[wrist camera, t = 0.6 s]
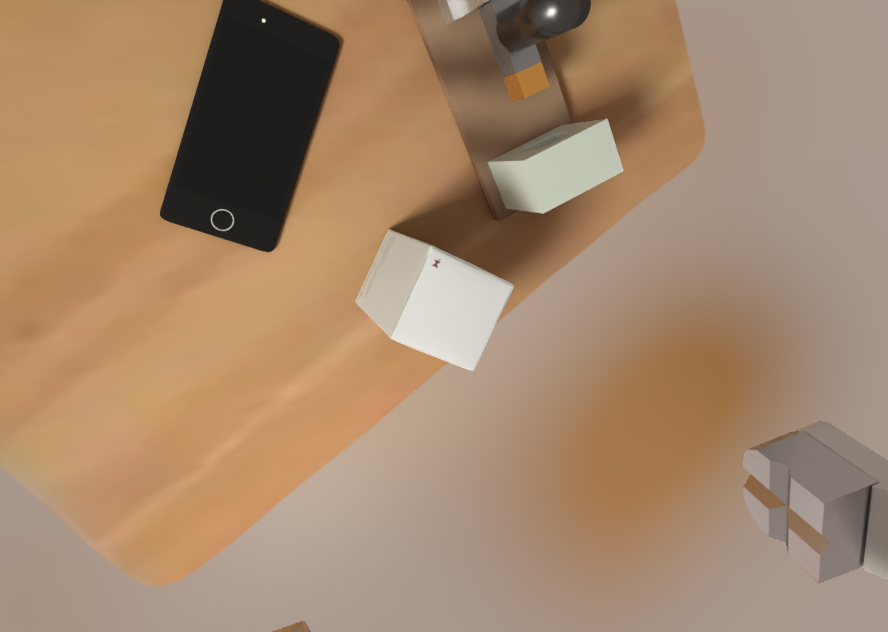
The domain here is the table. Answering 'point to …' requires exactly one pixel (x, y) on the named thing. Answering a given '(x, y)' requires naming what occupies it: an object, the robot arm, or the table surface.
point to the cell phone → (249, 124)
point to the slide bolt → (527, 37)
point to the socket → (556, 166)
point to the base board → (486, 93)
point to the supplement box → (432, 299)
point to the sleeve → (459, 9)
